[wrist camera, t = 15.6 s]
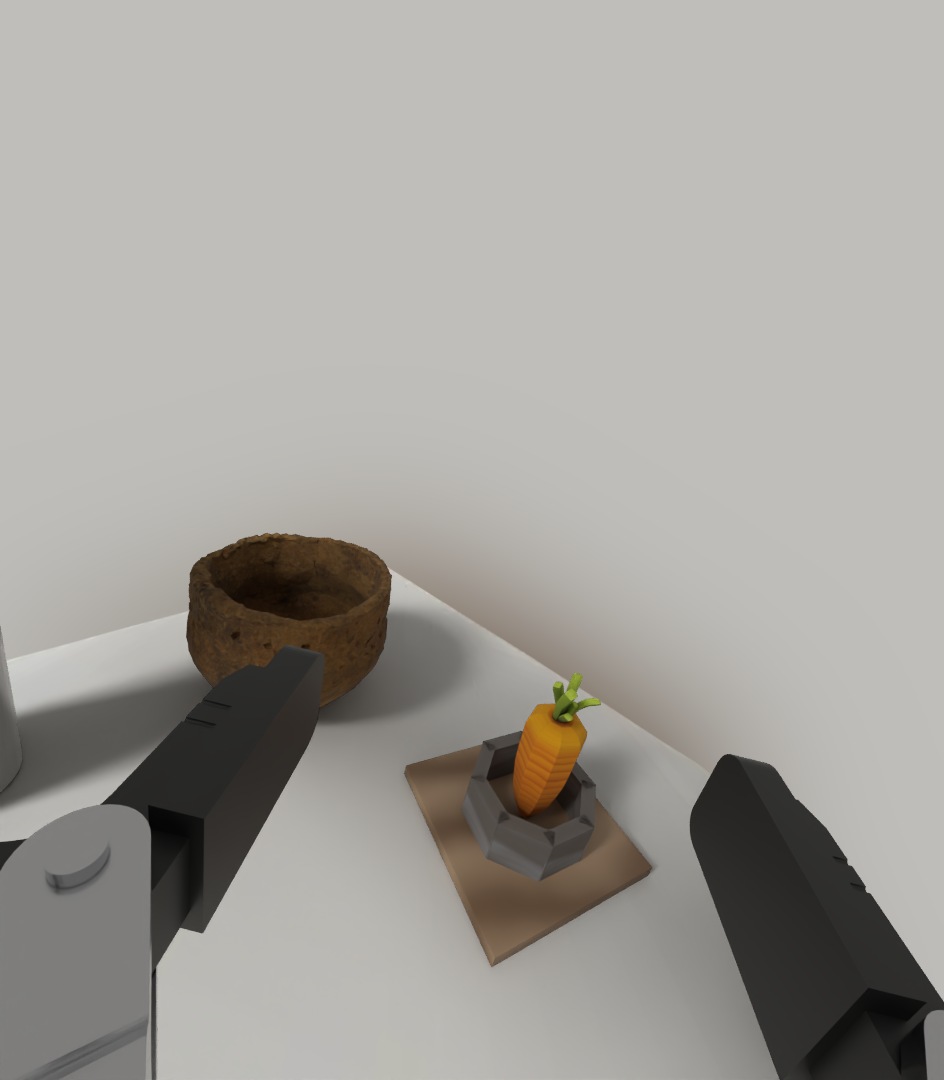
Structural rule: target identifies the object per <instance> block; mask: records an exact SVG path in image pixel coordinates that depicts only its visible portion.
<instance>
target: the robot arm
mask: <svg viewBox="0 0 944 1080" xmlns="http://www.w3.org/2000/svg"><path fill="white" fill-rule="evenodd" d="M324 666H325V655H324V654H323V653H319V652H315V651H311V650H307V649H303V648H299V647H295V646H291V645H285V646H283V647H282V648H281V649H280V650H279V652H278V653H277V654H276V655H275V656H274V657H273V659H272V660H271V661H270V662H269V663H268V664H267V666H266V667H265V668H264V667H260V666H256V665H252V664H249V665H247V666H245V667H243V668H242V669H240V670H238V671H236V672H234V673H232V674H230V675H228V676H227V677H225V678H223V679H222V680H221V681H220V682H219V683H218V684H217V685H216V686H215V687H214V688H213V689H212V690H211V691H210V692H209V693H208V694H207V696H206V697H205V698H204V699H203V701H202V703H201V704H200V703H199V704H198V705H197V706H196V707H195V708H194V709H193V710H192V711H191V712H190V713H189V714H188V715H187V716H186V719H185V721H184V722H181V723H180V724H179V725H178V726H177V727H176V728H175V729H174V730H173V731H172V732H171V733H170V734H169V735H168V736H167V737H166V738H165V739H164V740H163V741H162V742H161V743H160V745H159V746H158V747H157V748H156V749H155V750H154V751H153V752H152V753H151V754H150V755H149V756H148V757H147V758H146V759H145V760H144V761H143V762H142V763H141V764H140V765H139V766H138V767H137V769H136V770H135V771H134V772H133V773H132V774H131V775H130V776H129V777H128V778H127V779H126V780H125V781H124V782H123V783H122V784H121V785H120V786H119V787H118V788H117V789H116V790H115V791H114V792H113V794H112V795H110V796H109V797H108V798H107V799H106V800H105V801H104V802H103V803H102V804H100V805H97V806H92V807H87V808H83V809H80V810H77V811H74V812H72V813H69V814H67V815H65V816H62V817H60V818H58V819H56V820H54V821H53V822H51V823H49V824H47V825H46V826H44V827H43V828H41V829H40V830H38V831H37V832H35V833H34V834H33V835H32V836H30V837H29V838H28V839H23V840H16V841H7V842H0V1080H157V965H158V963H159V961H160V960H161V958H162V956H163V955H164V953H165V951H166V950H167V948H168V946H169V945H170V943H171V941H172V940H173V938H174V936H175V935H176V933H177V932H178V930H179V928H183V929H187V930H191V931H195V932H199V933H203V932H204V930H205V929H206V927H207V925H208V923H209V921H210V920H211V918H212V916H213V914H214V913H215V911H216V909H217V907H218V905H219V904H220V902H221V900H222V898H223V896H224V895H225V893H226V891H227V889H228V888H229V886H230V884H231V882H232V880H233V879H234V877H235V875H236V873H237V871H238V870H239V868H240V866H241V864H242V863H243V861H244V859H245V857H246V855H247V854H248V852H249V850H250V848H251V846H252V845H253V843H254V841H255V839H256V838H257V836H258V834H259V832H260V830H261V829H262V827H263V825H264V823H265V821H266V820H267V818H268V816H269V814H270V813H271V811H272V809H273V807H274V805H275V804H276V802H277V800H278V798H279V796H280V795H281V793H282V791H283V789H284V788H285V786H286V784H287V782H288V780H289V779H290V777H291V775H292V773H293V771H294V770H295V768H296V766H297V764H298V763H299V761H300V759H301V757H302V755H303V754H304V752H305V750H306V748H307V746H308V744H309V742H310V740H311V737H312V735H313V732H314V729H315V726H316V723H317V718H318V713H319V706H320V698H321V690H322V682H323V674H324ZM21 763H22V748H21V743H20V737H19V731H18V725H17V720H16V712H15V707H14V701H13V695H12V690H11V684H10V679H9V673H8V667H7V662H6V656H5V651H4V645H3V639H2V634H1V628H0V793H1V792H2V791H3V790H4V789H5V787H6V786H7V785H8V784H9V783H10V782H11V781H12V780H13V778H14V777H15V775H16V774H17V772H18V771H19V769H20V766H21ZM690 835H691V840H692V844H693V847H694V850H695V852H696V855H697V858H698V860H699V863H700V866H701V868H702V871H703V874H704V877H705V879H706V882H707V885H708V887H709V890H710V893H711V895H712V898H713V901H714V904H715V906H716V909H717V912H718V914H719V917H720V920H721V922H722V925H723V928H724V931H725V933H726V936H727V939H728V941H729V944H730V947H731V949H732V952H733V955H734V958H735V960H736V963H737V966H738V968H739V971H740V974H741V977H742V979H743V982H744V985H745V987H746V990H747V993H748V995H749V998H750V1001H751V1004H752V1006H753V1009H754V1012H755V1014H756V1017H757V1020H758V1022H759V1025H760V1028H761V1031H762V1033H763V1036H764V1039H765V1041H766V1044H767V1047H768V1049H769V1052H770V1055H771V1058H772V1060H773V1063H774V1066H775V1068H776V1071H777V1074H778V1076H779V1079H780V1080H944V1002H943V1000H942V999H941V997H940V996H939V994H938V993H937V991H936V990H935V988H934V987H933V985H932V984H931V983H930V981H929V979H928V978H927V976H926V975H925V974H924V972H923V971H922V969H921V968H920V966H919V965H918V963H917V962H916V960H915V959H914V957H913V956H912V955H911V953H910V951H909V950H908V948H907V947H906V945H905V944H904V942H903V941H902V940H901V938H900V937H899V935H898V934H897V932H896V931H895V929H894V928H893V926H892V925H891V923H890V922H889V920H888V919H887V917H886V916H885V914H884V913H883V912H882V910H881V909H880V907H879V905H878V904H877V903H876V901H875V900H874V898H873V897H872V895H871V894H870V893H867V892H866V890H865V887H866V886H865V885H864V883H863V882H862V880H861V879H860V877H859V876H858V874H857V873H856V871H855V870H854V868H853V867H852V866H849V865H848V864H847V858H846V857H845V855H844V854H843V852H842V851H841V849H840V848H839V846H838V845H837V843H836V842H835V840H834V839H833V837H832V836H831V835H830V833H829V832H828V830H827V829H826V828H825V827H824V826H823V825H822V824H821V822H820V821H819V820H817V818H816V817H814V815H813V814H812V813H811V812H810V811H809V810H808V809H807V808H805V806H804V805H803V804H802V803H800V801H799V800H796V799H795V798H794V796H793V795H792V793H791V792H790V790H789V789H788V787H787V786H786V784H785V783H784V781H783V780H782V778H781V776H780V775H779V773H778V772H777V771H776V769H775V768H774V767H772V766H771V765H770V764H767V763H764V762H760V761H755V760H751V759H747V758H743V757H739V756H735V755H731V754H727V755H724V756H723V757H722V758H721V759H720V760H719V761H718V763H717V765H716V767H715V768H714V770H713V772H712V774H711V776H710V778H709V779H708V781H707V783H706V785H705V787H704V788H703V790H702V792H701V794H700V796H699V798H698V799H697V801H696V803H695V805H694V807H693V809H692V812H691V817H690Z"/></svg>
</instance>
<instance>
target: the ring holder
mask: <svg viewBox="0 0 944 1080" xmlns="http://www.w3.org/2000/svg"><path fill="white" fill-rule="evenodd" d="M522 733H523V732H522V731H519V732H516V733H512V734H508V735H505V736H501V737H498V738H494V739H490V740H487V741H483V744H482V745H479V746H475V747H472V748H468V749H464V750H461V751H457V752H454V753H450V754H446V755H443V756H439V757H436V758H432V759H429V760H425V761H421V762H418V763H414V764H411V765H407V766H406V769H405V776H406V778H407V780H408V782H409V785H410V787H411V789H412V791H413V793H414V796H415V798H416V800H417V802H418V805H419V807H420V809H421V811H422V813H423V816H424V818H425V820H426V822H427V825H428V827H429V829H430V831H431V834H432V836H433V838H434V840H435V842H436V845H437V847H438V849H439V851H440V854H441V856H442V858H443V860H444V862H445V865H446V867H447V869H448V871H449V874H450V876H451V878H452V880H453V882H454V885H455V887H456V889H457V891H458V894H459V896H460V898H461V900H462V903H463V905H464V907H465V909H466V911H467V914H468V916H469V918H470V920H471V923H472V925H473V927H474V929H475V931H476V934H477V936H478V938H479V940H480V943H481V945H482V947H483V949H484V951H485V954H486V956H487V958H488V960H489V963H490V965H491V967H493V966H494V965H496V964H498V963H499V962H501V961H503V960H505V959H506V958H508V957H510V956H511V955H513V954H515V953H516V952H518V951H520V950H522V949H523V948H525V947H527V946H528V945H530V944H532V943H533V942H535V941H537V940H539V939H540V938H542V937H544V936H545V935H547V934H549V933H551V932H552V931H554V930H556V929H557V928H559V927H561V926H562V925H564V924H566V923H568V922H569V921H571V920H573V919H574V918H576V917H578V916H579V915H581V914H583V913H585V912H586V911H588V910H590V909H591V908H593V907H595V906H597V905H598V904H600V903H602V902H603V901H605V900H607V899H608V898H610V897H612V896H614V895H615V894H617V893H619V892H620V891H622V890H624V889H626V888H627V887H629V886H631V885H632V884H634V883H636V882H637V881H639V880H641V879H643V878H644V877H646V876H648V874H649V872H650V871H651V869H652V867H651V866H650V864H649V863H648V862H647V861H646V859H645V858H644V857H643V856H642V854H641V853H640V852H639V851H638V849H637V848H636V847H635V846H634V844H633V843H632V842H631V841H630V840H629V838H628V837H627V836H626V835H625V833H624V832H623V831H622V830H621V828H620V827H619V826H618V825H617V823H616V822H615V821H614V820H613V818H612V817H611V816H610V815H609V814H608V812H607V811H606V810H605V809H604V807H603V806H602V805H601V804H600V802H599V801H598V800H597V799H596V797H595V787H596V785H595V784H594V783H593V781H592V780H591V779H590V778H589V777H588V775H587V774H586V773H585V772H584V771H583V769H582V768H581V767H580V766H579V765H578V763H577V762H575V764H574V767H573V769H572V771H571V773H570V775H569V777H568V779H567V781H566V783H565V785H564V787H563V788H562V790H561V791H560V792H559V794H558V795H557V797H556V798H555V799H554V800H553V802H552V803H551V804H550V805H549V807H548V808H546V809H545V810H543V811H542V812H541V813H539V814H537V815H535V816H532V817H530V818H524V817H522V816H521V815H520V814H519V811H518V808H517V804H516V801H515V797H514V789H513V777H514V766H515V758H516V754H517V751H518V747H519V743H520V740H521V736H522Z"/></svg>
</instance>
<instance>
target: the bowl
mask: <svg viewBox="0 0 944 1080" xmlns="http://www.w3.org/2000/svg"><path fill="white" fill-rule="evenodd" d="M391 578H392V575H391V574H390V572H389V570H388V568H387V566H386V564H385V563H384V561H383V560H381V559H380V558H379V557H378V555H376V554H375V553H373V552H371V551H368V549H367V548H362V547H360V546H358V545H355V544H352V543H346V542H344V541H341V540H333V539H331V538H314V537H304V536H300V535H296V534H295V535H288V534H282V535H280V534H278V533H275V534H273V535H271V534H268V533H265V534H263V535H261V536H258V535H255V536H252V537H248V538H243V539H240V540H238V541H237V543H235V544H230V545H228V546H226V547H224V548H223V549H221V550H218V551H215V552H212V553H210V554H208V555H207V556H206V557H202V558H201V559H200V560H199V561H197V562H196V563H195V565H194V566H193V568H192V570H191V572H190V584H189V598H190V603H189V610H190V611H189V614H188V620H187V633H186V638H187V641H188V648H189V652H190V655H191V657H192V659H193V662H194V664H195V665H196V667H197V668H198V670H199V671H200V672H201V673H202V675H203V676H204V677H205V679H206V680H207V681H208V682H209V684H210V685H211V686H212V687H213V688H214V687H215V686H216V685H217V684H218V683H219V682H220V681H221V680H222V679H223V678H225V677H227V676H228V675H230V674H232V673H234V672H236V671H238V670H240V669H242V668H243V667H245V666H247V665H249V664H252V665H256V666H260V667H264V668H265V667H266V666H267V664H268V663H269V662H270V661H271V660H272V659H273V657H274V656H275V655H276V654H277V653H278V652H279V650H280V649H281V648H282V647H283V646H285V645H291V646H295V647H299V648H303V649H307V650H311V651H315V652H319V653H323V654H324V655H325V666H324V674H323V682H322V690H321V698H320V706H319V707H323V706H324V705H326V704H328V703H329V702H331V701H333V700H335V699H337V698H339V697H341V696H342V695H344V694H345V693H347V692H349V691H350V690H352V689H353V688H354V687H355V686H356V685H358V684H359V683H360V681H361V680H362V679H363V678H364V677H365V676H366V675H367V674H368V673H369V672H370V671H371V670H372V669H373V667H374V666H375V665H376V663H377V661H378V658H379V656H380V654H381V653H382V651H383V649H384V643H385V639H386V630H387V618H386V615H387V611H388V607H389V605H390V591H391Z"/></svg>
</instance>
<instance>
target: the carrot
mask: <svg viewBox="0 0 944 1080" xmlns="http://www.w3.org/2000/svg"><path fill="white" fill-rule="evenodd" d="M582 677H583V676H582V675H580V674H578V673H576V674H575V673H574V674H573V676H572V678H571V681H570V683H569V686H568V689H567V691H566V693H564V687H563V683H561V682H556V683H555V684H554V686H553V691H554V697H555V703H556V704H540V705H537V706H536V708H535V709H534V711H533V712H532V714H531V715H530V717H529V718H528V720H527V722H526V724H525V727H524V730H523V733H522V736H521V740H520V743H519V747H518V751H517V754H516V758H515V766H514V777H513V789H514V797H515V801H516V804H517V808H518V811H519V814H520V815H521V816H522V817H524V818H530V817H532V816H535V815H537V814H539V813H541V812H542V811H543V810H545V809H546V808H548V807H549V805H550V804H551V803H552V802H553V800H554V799H555V798H556V797H557V795H558V794H559V792H560V791H561V790H562V788H563V787H564V785H565V783H566V781H567V779H568V777H569V775H570V773H571V771H572V769H573V767H574V764H575V762H576V760H577V758H578V756H579V753H580V751H581V749H582V747H583V745H584V742H585V740H586V737H587V731H586V729H585V728H584V726H583V725H582V723H581V721H580V720H579V718H578V716H577V715H576V712H577V711H579V710H581V709H583V708H585V707H588V706H596V705H601V703H600V701H599V700H598V699H594V698H592V699H585V700H583V701H581V702H579V703H576V702H573V701H574V700H575V698H576V697H577V694H576V692H577V689H578V687H579V685H580V683H581V680H582Z"/></svg>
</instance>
